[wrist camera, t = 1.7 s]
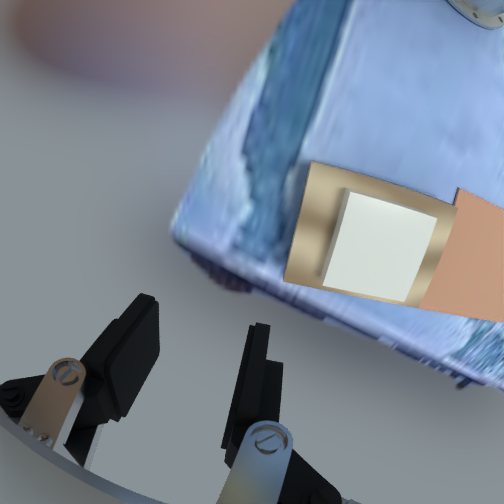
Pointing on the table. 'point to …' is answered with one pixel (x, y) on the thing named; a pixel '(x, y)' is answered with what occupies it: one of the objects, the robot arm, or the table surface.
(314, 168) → the serving board
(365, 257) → the coaster
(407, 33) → the table surface
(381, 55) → the table surface
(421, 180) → the table surface
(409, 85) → the table surface
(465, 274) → the mat
